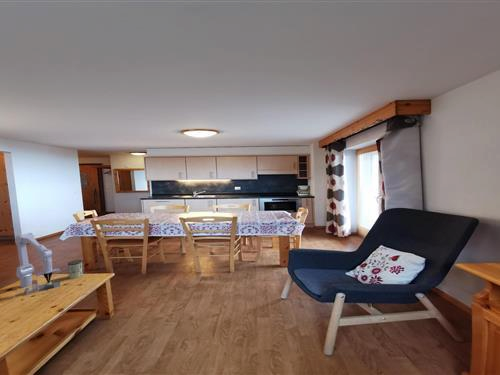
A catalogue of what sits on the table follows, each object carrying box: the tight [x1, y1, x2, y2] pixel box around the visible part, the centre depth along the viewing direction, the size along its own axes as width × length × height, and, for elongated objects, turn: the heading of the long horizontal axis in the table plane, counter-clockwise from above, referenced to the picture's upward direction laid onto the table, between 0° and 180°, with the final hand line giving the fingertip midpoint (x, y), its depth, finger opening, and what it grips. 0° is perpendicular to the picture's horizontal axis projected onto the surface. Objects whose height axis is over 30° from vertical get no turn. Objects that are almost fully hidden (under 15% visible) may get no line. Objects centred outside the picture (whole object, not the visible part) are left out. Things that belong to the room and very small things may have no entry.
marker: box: [31, 279, 39, 292], centre depth 190 cm, size 3×3×8 cm
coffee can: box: [67, 259, 84, 280], centre depth 215 cm, size 10×10×14 cm
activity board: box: [23, 280, 61, 296], centre depth 195 cm, size 15×22×1 cm
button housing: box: [44, 283, 55, 291], centre depth 194 cm, size 6×6×2 cm
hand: (48, 282), depth 194 cm, fingers closed
